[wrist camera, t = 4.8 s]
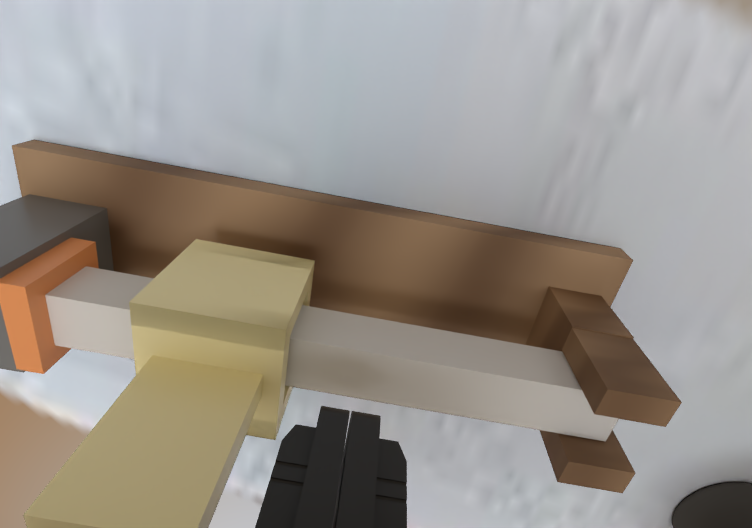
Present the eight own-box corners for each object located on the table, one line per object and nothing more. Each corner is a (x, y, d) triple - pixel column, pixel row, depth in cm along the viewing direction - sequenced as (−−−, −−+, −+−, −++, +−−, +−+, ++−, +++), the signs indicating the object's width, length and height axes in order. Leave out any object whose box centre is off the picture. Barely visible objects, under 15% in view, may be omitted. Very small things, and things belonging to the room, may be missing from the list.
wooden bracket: (620, 248, 17) (733, 356, 11) (555, 388, 20) (615, 529, 14) (33, 139, 16) (-171, 193, 10) (62, 301, 19) (-83, 410, 14)
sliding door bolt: (587, 295, 16) (654, 389, 12) (553, 370, 18) (601, 477, 14) (29, 193, 16) (-116, 252, 12) (46, 280, 18) (-77, 360, 13)
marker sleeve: (314, 260, 15) (219, 490, 7) (303, 354, 17) (216, 616, 9) (196, 239, 15) (-27, 447, 7) (197, 335, 17) (20, 585, 9)
